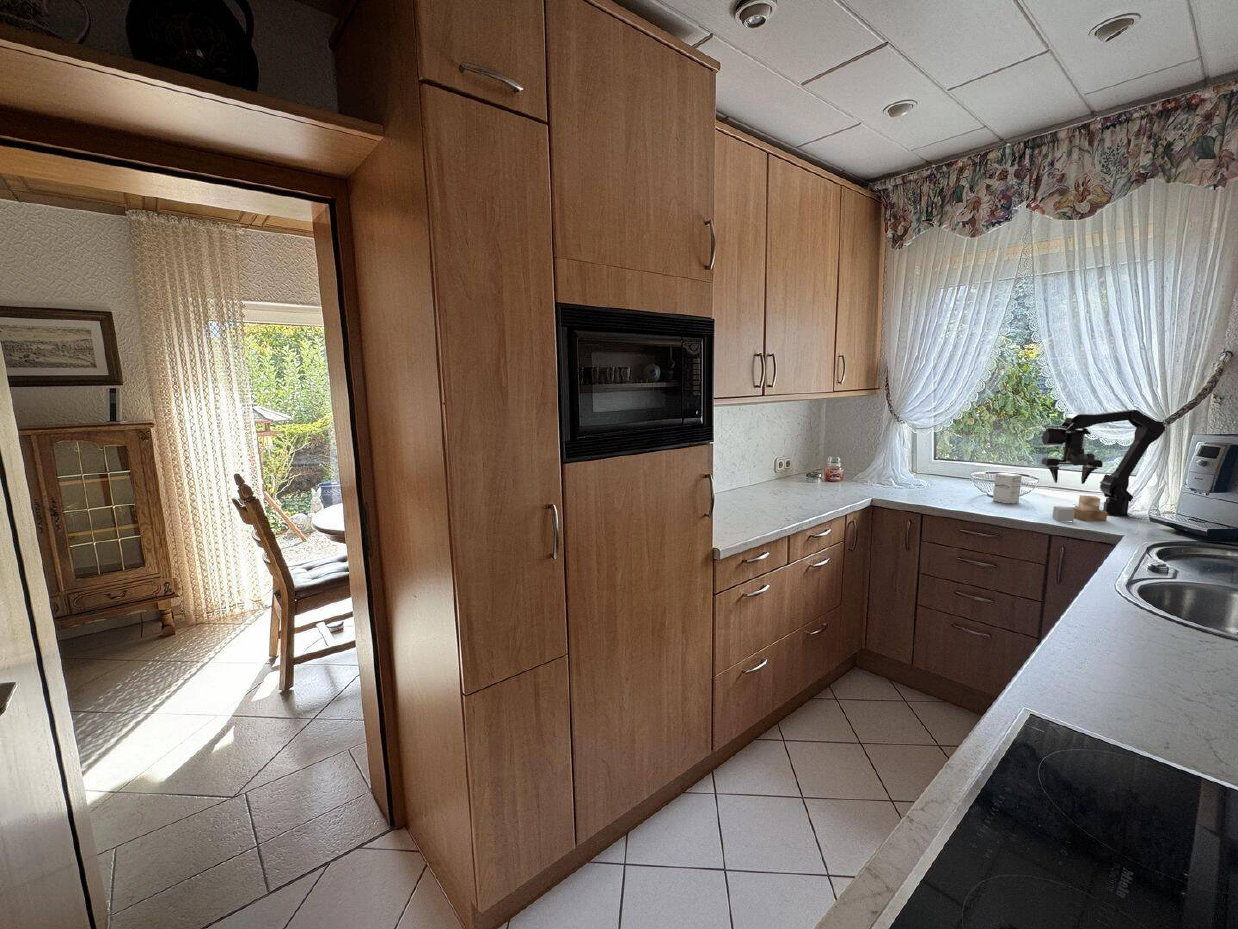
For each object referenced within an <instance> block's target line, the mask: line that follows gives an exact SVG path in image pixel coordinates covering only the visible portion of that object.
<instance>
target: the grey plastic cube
mask: <svg viewBox="0 0 1238 929" xmlns="http://www.w3.org/2000/svg"><path fill="white" fill-rule="evenodd" d="M1074 512H1075V510H1074V509H1072V508H1070V506H1059V505H1057V506H1056V505H1054V506H1053V510H1052V517H1051V518H1053V519H1052V520H1054V521H1055V522H1058V521H1072V522H1071V523H1074V521H1075V520H1074V519H1075V518H1074Z"/></svg>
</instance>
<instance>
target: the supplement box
mask: <svg viewBox="0 0 1238 929" xmlns="http://www.w3.org/2000/svg"><path fill="white" fill-rule="evenodd" d="M994 475H995V476H994V486H993V494H992V495H993V496H992V502H999V503H1002V504H1007V503H1013V504H1018V503H1019V502H1020V494H1021V486H1022V478H1023V477H1022V476H1023V475H1022V474H1017V473H1010V472H999V473H998V472H996V473H995V474H994Z"/></svg>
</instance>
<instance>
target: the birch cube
mask: <svg viewBox="0 0 1238 929" xmlns="http://www.w3.org/2000/svg"><path fill="white" fill-rule="evenodd" d="M1100 505H1101V498H1099V497H1098V496H1096V495H1085V494H1083V495H1082V494H1081V495H1079V498H1078V506H1077V507H1078V508H1080V509H1081V510H1085V511H1098V512H1099V510H1100V507H1101V506H1100Z"/></svg>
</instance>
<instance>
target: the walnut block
mask: <svg viewBox="0 0 1238 929" xmlns="http://www.w3.org/2000/svg"><path fill="white" fill-rule="evenodd" d="M1069 507H1070V506H1069ZM1070 508H1072V509H1074V510H1075V512H1074V519H1076V518H1078V519H1077V520H1079V519H1080V521H1083V522H1107V520H1108V519H1107V518H1108V514H1107V513H1108V512H1106V511H1103V509H1099V512H1098V511H1085V510H1081V509H1080V508H1078V506H1077V507H1076V506H1075V507H1073V506H1071V507H1070Z"/></svg>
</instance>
